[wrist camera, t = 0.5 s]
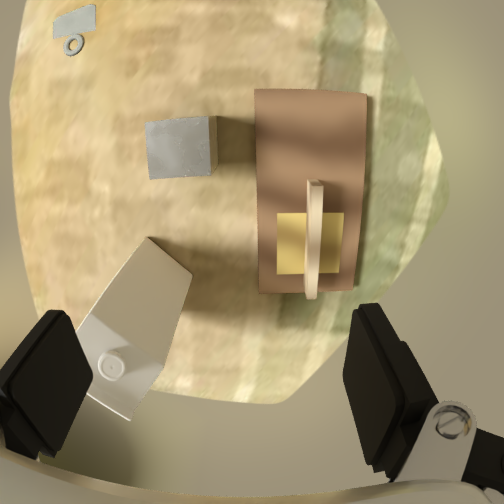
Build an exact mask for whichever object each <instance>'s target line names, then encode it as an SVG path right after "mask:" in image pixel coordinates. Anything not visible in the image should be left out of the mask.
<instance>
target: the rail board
mask: <svg viewBox="0 0 504 504" xmlns="http://www.w3.org/2000/svg"><path fill="white" fill-rule="evenodd" d="M254 95H255V134H256V176H257V221H258V272H259V294H268V293H301V292H305V294H306V298H307V299H316V296H317V292H326V291H348V290H353V283H354V276H355V268H356V261H357V252H358V244H359V235H360V225H361V214H362V203H363V190H364V174H365V155H366V123H367V94H364V93H354V92H342V91H328V90H309V89H254Z"/></svg>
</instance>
